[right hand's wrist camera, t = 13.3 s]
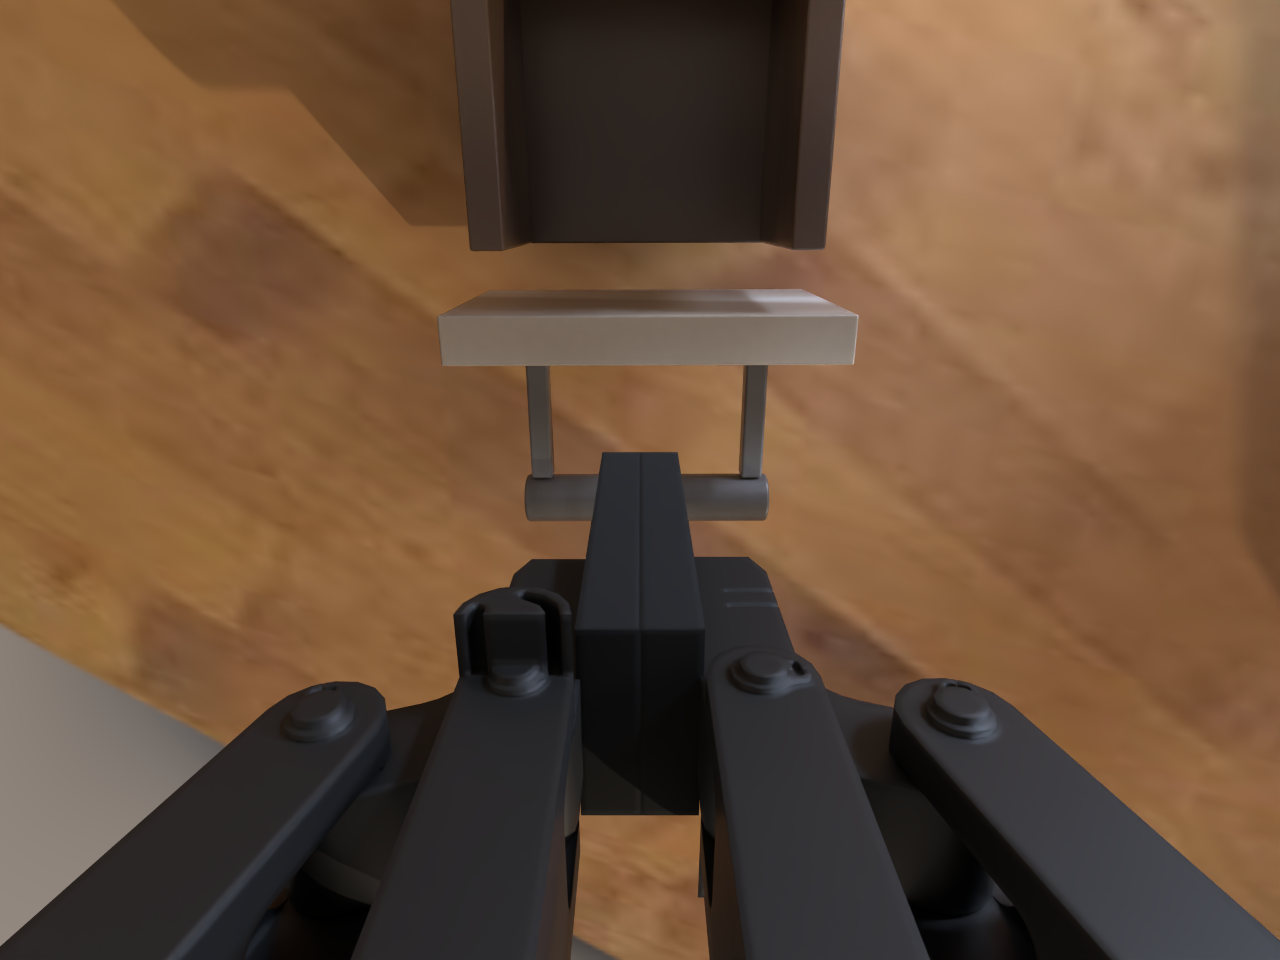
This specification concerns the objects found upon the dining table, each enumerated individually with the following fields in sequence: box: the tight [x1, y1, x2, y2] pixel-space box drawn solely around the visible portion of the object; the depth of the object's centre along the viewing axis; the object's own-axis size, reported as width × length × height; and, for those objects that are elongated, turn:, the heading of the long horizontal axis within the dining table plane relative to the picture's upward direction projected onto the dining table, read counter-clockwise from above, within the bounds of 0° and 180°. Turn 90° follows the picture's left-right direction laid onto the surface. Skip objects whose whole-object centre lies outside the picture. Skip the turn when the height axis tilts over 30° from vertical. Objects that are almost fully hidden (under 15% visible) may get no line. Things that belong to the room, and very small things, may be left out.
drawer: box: [437, 0, 858, 521], centre depth 18 cm, size 25×10×6 cm, turn 0°
